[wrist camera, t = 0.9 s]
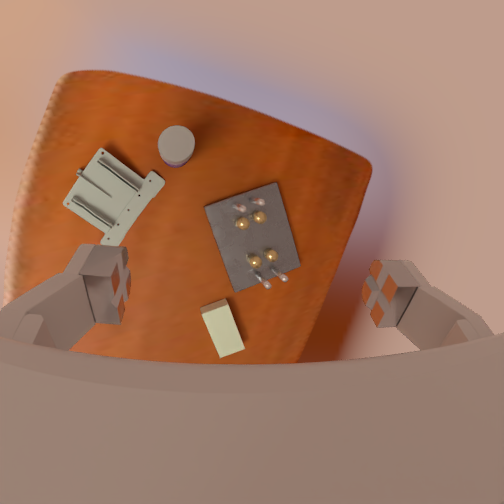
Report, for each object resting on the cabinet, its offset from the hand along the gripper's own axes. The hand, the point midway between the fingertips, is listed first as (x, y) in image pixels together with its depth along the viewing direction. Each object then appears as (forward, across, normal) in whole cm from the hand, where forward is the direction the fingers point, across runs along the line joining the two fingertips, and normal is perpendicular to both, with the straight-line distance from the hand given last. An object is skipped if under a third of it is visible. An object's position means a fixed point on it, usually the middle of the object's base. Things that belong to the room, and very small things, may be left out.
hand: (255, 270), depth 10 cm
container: (+42, -8, -8) cm, 44 cm away
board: (+33, +2, -37) cm, 50 cm away
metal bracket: (+39, -18, -14) cm, 45 cm away
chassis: (+39, +7, -21) cm, 45 cm away
